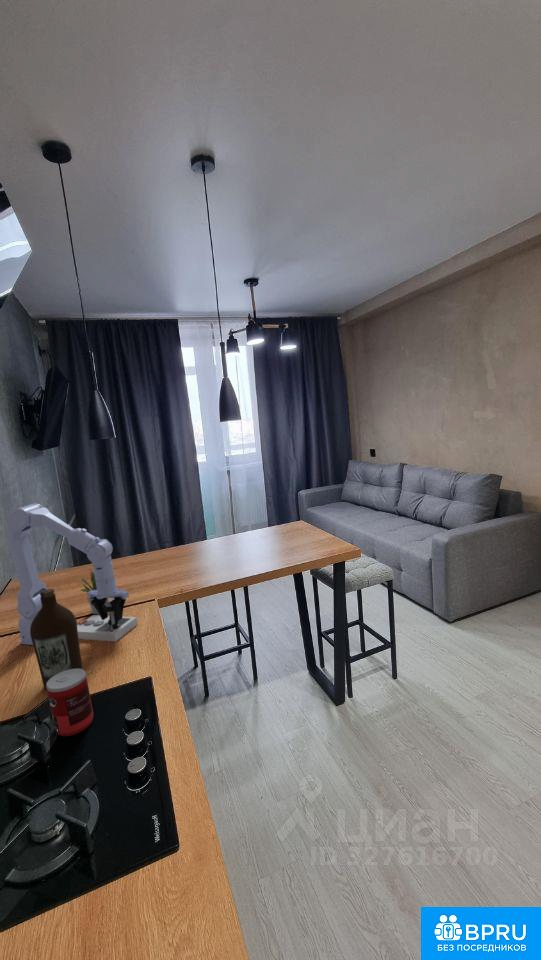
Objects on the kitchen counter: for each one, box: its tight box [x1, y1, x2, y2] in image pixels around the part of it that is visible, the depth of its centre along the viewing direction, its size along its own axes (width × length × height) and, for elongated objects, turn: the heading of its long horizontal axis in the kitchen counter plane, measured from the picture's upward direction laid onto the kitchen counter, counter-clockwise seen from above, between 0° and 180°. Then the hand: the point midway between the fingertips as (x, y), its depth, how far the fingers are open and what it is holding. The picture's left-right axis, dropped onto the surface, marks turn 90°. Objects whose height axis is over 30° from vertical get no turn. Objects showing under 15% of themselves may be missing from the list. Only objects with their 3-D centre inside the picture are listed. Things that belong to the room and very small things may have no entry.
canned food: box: [46, 668, 94, 737], centre depth 92 cm, size 8×8×11 cm
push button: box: [102, 598, 120, 632], centre depth 135 cm, size 7×5×10 cm
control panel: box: [77, 614, 138, 642], centre depth 137 cm, size 18×11×3 cm, turn 71°
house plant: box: [74, 567, 116, 615], centre depth 153 cm, size 14×14×16 cm
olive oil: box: [30, 588, 84, 692], centre depth 108 cm, size 11×11×25 cm
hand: (112, 618), depth 135 cm, fingers closed on push button, 5 cm apart
